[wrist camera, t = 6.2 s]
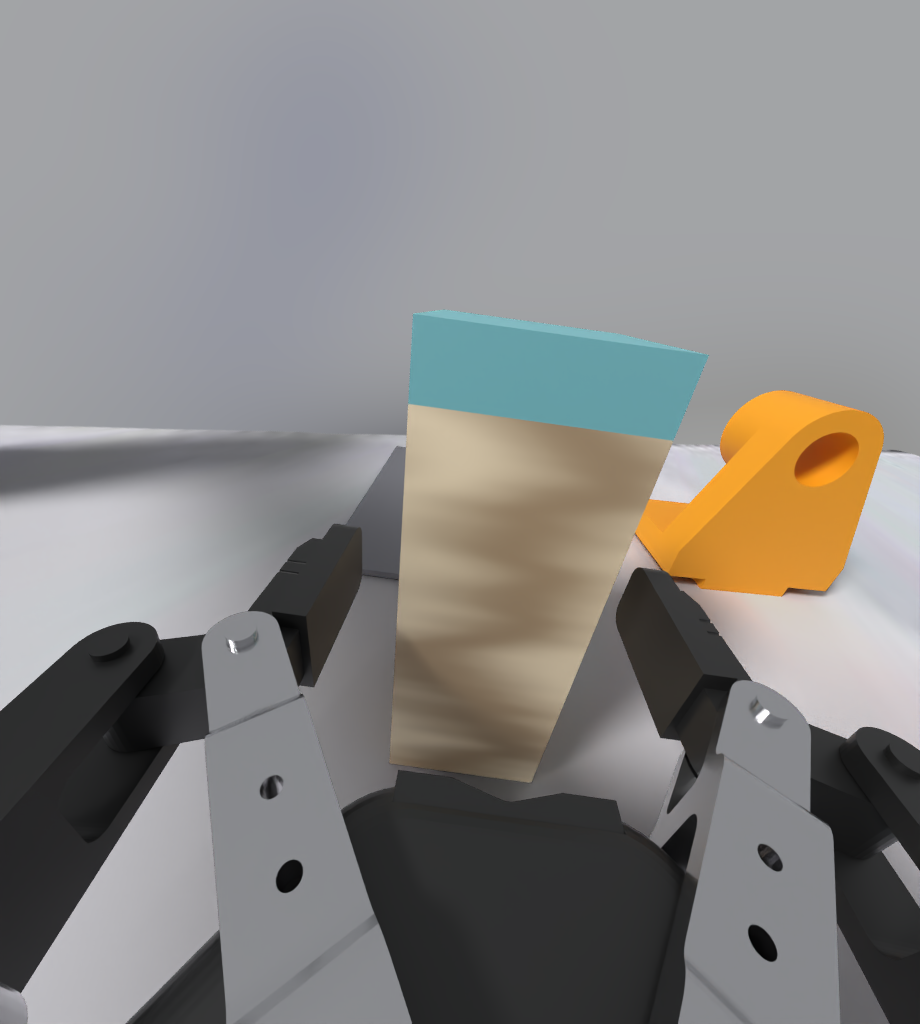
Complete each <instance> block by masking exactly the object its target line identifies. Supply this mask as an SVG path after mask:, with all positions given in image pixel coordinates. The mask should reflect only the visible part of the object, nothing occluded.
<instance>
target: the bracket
mask: <svg viewBox="0 0 920 1024" xmlns="http://www.w3.org/2000/svg"><path fill="white" fill-rule="evenodd" d="M883 440H884V433H883V428H882V426H881V424H880V422H879V421H878V420H877V419H876V418H875V417H874V416H873V415H871V414H869V413H867V412H864V411H860V410H856V409H853V408H849V407H846V406H842V405H838V404H834V403H831V402H828V401H824V400H820V399H817V398H813V397H810V396H806V395H802V394H799V393H795V392H791V391H785V390H784V391H783V390H781V391H772V392H768V393H765V394H762V395H760V396H758V397H756V398H754V399H752V400H750V401H749V402H747V403H746V404H745V405H743V406H742V407H741V408H740V409H739V410H738V411H737V412H736V413H735V414H734V415H733V416H732V418H731V419H730V420H729V422H728V423H727V425H726V427H725V429H724V431H723V434H722V437H721V443H720V451H721V455H722V458H723V460H724V461H725V463H726V465H725V466H724V467H723V468H722V469H721V470H720V471H719V472H718V473H717V475H716V476H715V477H714V478H713V479H712V480H711V481H710V482H709V483H708V484H707V485H706V486H705V487H704V488H703V489H702V491H701V492H700V493H699V494H698V495H697V496H696V497H695V498H694V499H693V500H692V501H691V502H690V503H689V504H687V503H678V502H669V501H660V500H652V499H649V500H648V503H647V505H646V508H645V510H644V513H643V515H642V517H641V520H640V522H639V525H638V527H637V529H636V532H635V533H636V535H637V536H638V537H639V539H640V540H641V541H642V543H643V544H644V545H645V547H646V548H647V549H648V551H649V552H650V553H651V555H652V556H653V557H654V559H655V560H656V561H657V563H658V564H659V565H660V567H661V568H662V569H663V571H666V572H667V573H669V575H670V576H678V577H688V578H692V579H693V580H694V581H695V582H696V584H697V585H698V586H699V587H700V588H701V589H710V590H720V591H731V592H741V593H751V594H761V595H772V596H783V594H784V593H785V591H786V590H787V589H788V588H798V589H808V590H818V591H826V590H827V589H828V588H829V586H830V585H831V584H832V582H833V581H834V580H835V579H836V577H837V576H838V575H839V573H840V572H841V571H842V570H843V568H844V565H845V562H846V559H847V556H848V552H849V549H850V546H851V543H852V540H853V537H854V534H855V531H856V528H857V525H858V521H859V518H860V515H861V512H862V509H863V506H864V503H865V500H866V497H867V493H868V490H869V487H870V484H871V481H872V478H873V475H874V472H875V469H876V466H877V462H878V459H879V456H880V453H881V450H882V446H883Z"/></svg>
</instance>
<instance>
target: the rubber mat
mask: <svg viewBox="0 0 920 1024" xmlns="http://www.w3.org/2000/svg"><path fill="white" fill-rule="evenodd" d="M405 458H406V448H405V447H398V446H397V447H396V448H395V450H394V451H393V453H392V454H391V456H390V458H389V459H388V461H387V462H386V464H385V465H384V467H383V468H382V470H381V471H380V473H379V475H378V476H377V478H376V479H375V481H374V482H373V484H372V485H371V487H370V488H369V490H368V492H367V493H366V495H365V496H364V498H363V499H362V501H361V502H360V504H359V505H358V507H357V509H356V510H355V512H354V513H353V515H352V516H351V518H350V519H349V521H348V523H347V524H346V525H347V526H354V527H360V528H361V530H362V574H363V575H370V576H377V577H384V578H391V579H399V571H400V552H401V534H402V515H403V496H404V477H405Z"/></svg>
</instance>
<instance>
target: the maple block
mask: <svg viewBox="0 0 920 1024" xmlns="http://www.w3.org/2000/svg"><path fill="white" fill-rule="evenodd" d="M708 356H709V355H706V354H702V353H697V352H693V351H689V350H685V349H681V348H676V347H672V346H668V345H663V344H659V343H655V342H651V341H647V340H642V339H638V338H634V337H630V336H625V335H621V334H615V333H608V332H601V331H594V330H587V329H579V328H572V327H565V326H558V325H551V324H544V323H536V322H529V321H522V320H514V319H507V318H500V317H493V316H486V315H479V314H472V313H465V312H457V311H450V310H439V311H431V312H423V313H416V314H413V327H412V347H411V364H410V385H409V402H408V421H407V422H408V423H407V440H406V458H405V477H404V496H403V515H402V534H401V552H400V571H399V590H398V609H397V628H396V646H395V665H394V684H393V703H392V722H391V740H390V759H389V763H390V764H397V765H404V766H412V767H419V768H426V769H433V770H440V771H447V772H455V773H462V774H469V775H476V776H483V777H491V778H498V779H505V780H512V781H519V782H526V783H531V782H532V780H533V777H534V775H535V772H536V770H537V768H538V765H539V763H540V760H541V758H542V756H543V753H544V751H545V748H546V746H547V744H548V741H549V739H550V736H551V734H552V732H553V729H554V727H555V724H556V722H557V719H558V717H559V715H560V712H561V710H562V707H563V705H564V703H565V700H566V698H567V695H568V693H569V691H570V688H571V686H572V683H573V681H574V679H575V676H576V674H577V671H578V669H579V667H580V664H581V662H582V659H583V657H584V655H585V652H586V650H587V647H588V645H589V642H590V640H591V638H592V635H593V633H594V630H595V628H596V626H597V623H598V621H599V618H600V616H601V614H602V611H603V609H604V606H605V604H606V602H607V599H608V597H609V594H610V592H611V590H612V587H613V585H614V582H615V580H616V577H617V575H618V573H619V570H620V568H621V565H622V563H623V561H624V558H625V556H626V553H627V551H628V549H629V546H630V544H631V541H632V539H633V537H634V534H635V532H636V529H637V527H638V525H639V522H640V520H641V517H642V515H643V513H644V510H645V508H646V505H647V503H648V500H649V498H650V496H651V493H652V491H653V488H654V486H655V484H656V481H657V479H658V476H659V474H660V472H661V469H662V467H663V464H664V462H665V460H666V457H667V455H668V452H669V450H670V448H671V445H672V443H673V440H674V438H675V436H676V433H677V431H678V428H679V426H680V423H681V421H682V419H683V416H684V414H685V411H686V409H687V407H688V404H689V402H690V399H691V397H692V395H693V392H694V390H695V387H696V385H697V383H698V380H699V378H700V375H701V372H702V371H703V368H704V365H705V363H706V361H707V359H708Z"/></svg>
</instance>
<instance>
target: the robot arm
mask: <svg viewBox="0 0 920 1024" xmlns="http://www.w3.org/2000/svg"><path fill="white" fill-rule="evenodd" d="M361 577H362V530H361V528H360V527H354V526H347V525H340V524H333V525H332V527H331V528H330V529H329V531H328V532H327V534H326V535H325V536H324V538H323V539H315V538H312V539H311V540H309V541H307V542H306V543H304V544H302V545H301V546H299V547H297V549H296V550H295V551H294V552H293V554H292V555H291V556H290V558H289V559H288V562H286V563H285V564H284V565H283V567H282V568H281V569H280V572H279V573H277V574H276V575H275V577H274V578H273V579H272V581H271V582H270V583H269V584H268V586H267V587H266V588H265V590H264V591H263V592H262V593H261V595H260V596H259V597H258V598H257V600H256V601H255V602H254V604H253V605H252V606H251V607H250V609H249V610H248V611H247V612H242V613H237V614H234V615H232V616H229V617H227V618H225V619H223V620H221V621H220V622H218V623H217V624H216V625H214V626H213V627H212V628H211V629H210V630H209V631H208V632H207V634H204V635H198V636H189V637H181V638H172V639H163V640H160V639H159V637H158V634H157V632H156V630H155V629H154V627H152V626H151V625H149V624H146V623H141V622H127V623H121V624H116V625H112V626H109V627H106V628H103V629H101V630H99V631H96V632H94V633H92V634H90V635H89V636H87V637H85V638H84V639H82V640H81V641H79V642H78V643H77V644H75V645H74V646H73V647H72V648H71V649H70V650H68V651H67V652H66V653H65V654H64V655H63V656H62V657H61V658H59V659H58V660H57V661H56V662H55V663H54V664H53V665H52V666H50V667H49V668H48V669H47V670H46V671H45V672H44V673H43V674H41V675H40V676H39V677H38V678H37V679H36V680H35V681H34V682H33V683H31V684H30V685H29V686H28V687H27V688H26V689H25V690H24V691H22V692H21V693H20V694H19V695H18V696H17V697H16V698H15V699H13V700H12V701H11V702H10V703H9V704H8V705H7V706H6V707H4V708H3V709H2V710H1V711H0V1024H27V1021H28V1011H27V1005H26V1002H25V999H24V997H23V996H22V995H21V994H20V993H21V992H22V990H23V989H24V987H25V986H26V984H27V983H28V981H29V979H30V978H31V976H32V975H33V973H34V972H35V970H36V968H37V967H38V965H39V964H40V962H41V961H42V959H43V957H44V956H45V954H46V953H47V951H48V950H49V948H50V946H51V945H52V943H53V942H54V940H55V939H56V937H57V935H58V934H59V932H60V931H61V929H62V928H63V926H64V924H65V923H66V921H67V920H68V918H69V917H70V915H71V913H72V912H73V910H74V909H75V907H76V906H77V904H78V902H79V901H80V899H81V898H82V896H83V895H84V893H85V892H86V890H87V888H88V887H89V885H90V884H91V882H92V881H93V879H94V877H95V876H96V874H97V873H98V871H99V870H100V868H101V866H102V865H103V863H104V862H105V860H106V859H107V857H108V855H109V854H110V852H111V851H112V849H113V848H114V846H115V844H116V843H117V841H118V840H119V838H120V837H121V835H122V833H123V832H124V830H125V829H126V827H127V826H128V824H129V822H130V821H131V819H132V818H133V816H134V815H135V813H136V811H137V810H138V808H139V807H140V805H141V804H142V802H143V800H144V799H145V797H146V796H147V794H148V793H149V791H150V790H151V788H152V786H153V785H154V783H155V782H156V780H157V779H158V777H159V775H160V774H161V772H162V771H163V769H164V768H165V766H166V764H167V763H168V761H169V760H170V758H171V757H172V755H173V753H174V752H175V750H176V749H177V747H178V746H179V744H180V743H183V742H188V741H194V740H199V739H205V756H206V768H207V781H208V793H209V805H210V817H211V830H212V842H213V854H214V866H215V879H216V891H217V903H218V916H219V928H220V929H219V930H218V931H217V932H216V933H215V934H214V935H213V936H212V937H211V938H210V939H209V940H208V941H207V942H206V943H205V944H204V945H203V946H202V947H201V948H200V949H199V950H198V951H197V953H196V954H195V955H194V956H193V957H192V958H191V959H190V960H189V961H188V962H187V963H186V964H185V965H184V966H183V967H182V968H181V969H180V970H179V971H178V972H177V973H176V974H175V975H174V976H173V977H172V978H171V979H170V980H169V981H168V982H167V983H166V984H165V985H164V986H163V987H162V988H161V989H160V990H159V991H158V992H157V993H156V994H155V995H154V996H153V997H152V998H151V999H150V1000H149V1001H148V1002H147V1003H146V1004H145V1005H144V1006H143V1007H142V1008H141V1009H140V1010H139V1011H138V1012H137V1013H136V1014H135V1015H134V1016H133V1017H132V1018H131V1019H130V1020H129V1021H128V1022H127V1023H126V1024H840V998H839V972H838V946H837V923H838V925H839V927H840V929H841V931H842V933H843V935H844V937H845V939H846V941H847V942H848V944H849V946H850V948H851V950H852V952H853V954H854V956H855V958H856V960H857V962H858V964H859V966H860V967H861V969H862V971H863V973H864V975H865V977H866V979H867V981H868V983H869V985H870V987H871V989H872V990H873V992H874V994H875V996H876V998H877V1000H878V1002H879V1004H880V1006H881V1008H882V1010H883V1012H884V1013H885V1015H886V1017H887V1019H888V1021H889V1023H890V1024H920V908H919V906H918V905H917V903H916V902H915V900H914V899H913V897H912V896H911V894H910V893H909V891H908V890H907V888H906V887H905V885H904V884H903V882H902V881H901V879H900V878H899V876H898V875H897V874H896V872H895V871H894V869H893V868H892V866H891V865H890V863H889V862H888V860H887V859H886V857H885V856H884V854H883V853H882V850H884V849H885V848H887V847H889V846H890V845H892V844H893V843H895V842H897V841H899V842H900V843H901V845H902V846H903V848H904V849H905V850H906V852H907V853H908V855H909V856H910V857H911V859H912V860H913V862H914V863H915V864H916V866H917V867H918V869H919V870H920V750H918V749H917V748H915V747H914V746H912V745H911V744H909V743H908V742H906V741H904V740H903V739H901V738H899V737H897V736H895V735H893V734H891V733H889V732H886V731H884V730H881V729H877V728H873V727H862V728H860V729H858V730H857V731H856V732H855V733H854V734H853V735H852V736H851V737H850V738H848V739H845V738H843V737H840V736H838V735H835V734H833V733H830V732H828V731H825V730H823V729H820V728H818V727H815V726H812V725H810V724H808V723H807V721H806V719H805V718H804V716H803V715H802V714H801V713H800V711H799V710H798V709H797V708H796V707H795V706H794V705H793V704H792V703H791V702H790V701H788V700H787V699H786V698H785V697H783V696H782V695H780V694H779V693H778V692H776V691H774V690H773V689H771V688H769V687H767V686H765V685H762V684H760V683H757V682H753V681H752V680H751V678H750V677H749V676H748V674H747V673H746V671H745V670H744V668H743V667H742V665H741V664H740V663H739V661H738V660H737V658H736V657H735V655H734V654H733V652H732V651H731V650H730V648H729V647H728V645H727V644H726V642H725V641H724V639H723V638H722V637H721V636H719V632H718V631H717V629H716V628H715V626H714V625H713V624H712V623H710V619H709V618H708V616H707V615H706V613H705V612H704V611H703V609H702V608H701V606H700V605H699V604H698V603H697V602H695V601H694V600H693V599H692V598H691V597H690V596H688V595H687V594H686V593H685V592H684V591H680V590H679V588H678V587H677V585H676V584H675V582H674V581H673V579H672V578H671V576H670V575H669V573H667V572H666V571H660V570H653V569H646V568H637V569H635V570H634V572H633V573H632V576H631V578H630V580H629V582H628V585H627V587H626V589H625V591H624V594H623V596H622V598H621V600H620V603H619V605H618V608H617V612H616V624H617V628H618V631H619V634H620V636H621V639H622V641H623V644H624V646H625V649H626V651H627V654H628V657H629V659H630V662H631V664H632V667H633V669H634V672H635V674H636V677H637V679H638V682H639V685H640V687H641V690H642V692H643V695H644V697H645V700H646V702H647V705H648V708H649V710H650V713H651V715H652V718H653V720H654V723H655V725H656V728H657V731H658V733H659V736H660V738H666V739H673V740H680V741H681V742H682V745H683V747H684V750H683V751H682V753H681V754H680V756H679V758H678V761H677V764H676V767H675V770H674V773H673V776H672V779H671V782H670V785H669V788H668V791H667V794H666V797H665V800H664V803H663V806H662V809H661V812H660V815H659V818H658V821H657V823H656V825H655V828H654V830H653V832H652V833H651V835H650V837H649V838H647V837H646V836H645V835H643V834H642V833H641V832H639V831H637V830H635V829H634V828H632V827H630V826H629V825H627V824H625V823H623V822H621V818H620V814H619V810H618V806H617V802H616V801H615V800H608V799H601V798H593V797H586V796H579V795H572V794H565V793H561V794H555V795H549V796H543V797H538V798H532V799H526V800H521V801H515V802H507V801H503V800H501V799H499V798H496V797H494V796H492V795H490V794H487V793H485V792H483V791H481V790H479V789H476V788H474V787H472V786H470V785H467V784H465V783H463V782H461V781H459V780H456V779H454V778H452V777H445V776H438V775H431V774H424V773H416V772H409V771H402V770H398V775H397V780H396V785H395V787H393V788H388V789H383V790H380V791H377V792H373V793H370V794H368V795H366V796H364V797H362V798H360V799H357V800H356V801H354V802H352V803H351V804H349V805H348V806H346V807H344V808H343V809H342V810H340V807H339V803H338V800H337V797H336V794H335V791H334V788H333V784H332V781H331V778H330V775H329V772H328V769H327V766H326V762H325V759H324V756H323V753H322V750H321V747H320V744H319V740H318V737H317V734H316V731H315V728H314V725H313V721H312V718H311V715H310V712H309V709H308V706H307V703H306V700H305V698H304V695H303V694H300V692H299V689H298V687H299V685H301V686H308V687H314V686H315V684H316V682H317V679H318V677H319V675H320V673H321V671H322V668H323V666H324V664H325V662H326V660H327V657H328V655H329V653H330V651H331V649H332V646H333V644H334V642H335V640H336V638H337V636H338V633H339V631H340V629H341V627H342V625H343V622H344V620H345V618H346V616H347V614H348V611H349V609H350V607H351V605H352V603H353V600H354V598H355V596H356V594H357V592H358V589H359V586H360V582H361Z"/></svg>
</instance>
